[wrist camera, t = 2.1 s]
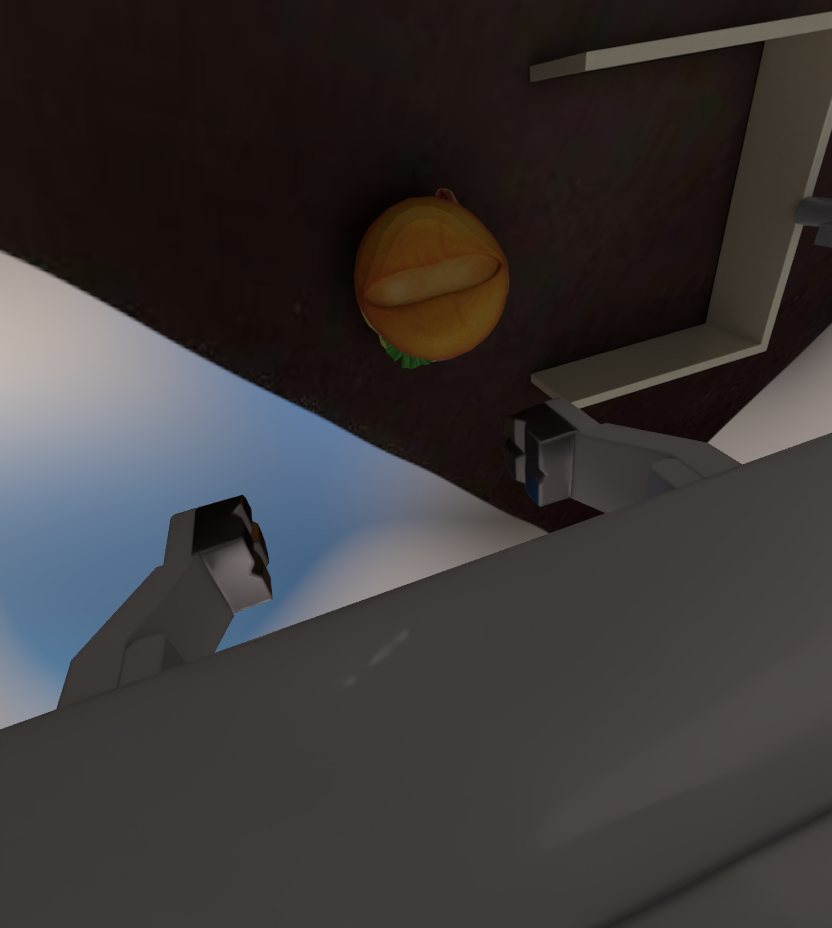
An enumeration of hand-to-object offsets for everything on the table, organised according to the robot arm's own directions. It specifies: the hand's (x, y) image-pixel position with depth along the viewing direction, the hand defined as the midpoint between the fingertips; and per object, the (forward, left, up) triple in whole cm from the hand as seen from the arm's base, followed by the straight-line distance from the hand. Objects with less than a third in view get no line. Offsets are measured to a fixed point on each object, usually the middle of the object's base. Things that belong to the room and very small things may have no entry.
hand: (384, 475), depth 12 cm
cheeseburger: (+9, +2, -25) cm, 27 cm away
